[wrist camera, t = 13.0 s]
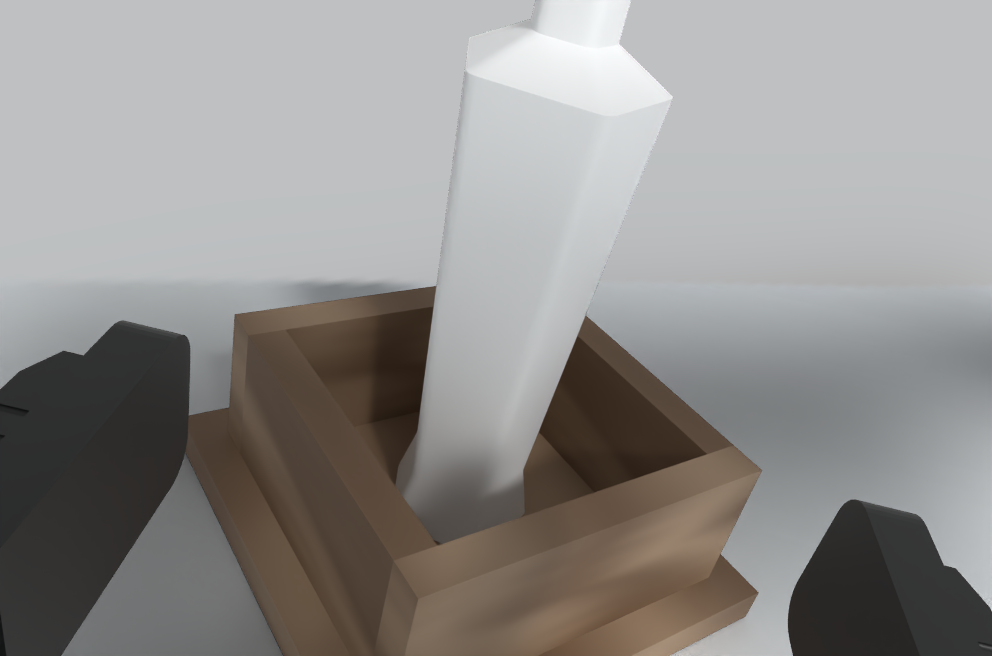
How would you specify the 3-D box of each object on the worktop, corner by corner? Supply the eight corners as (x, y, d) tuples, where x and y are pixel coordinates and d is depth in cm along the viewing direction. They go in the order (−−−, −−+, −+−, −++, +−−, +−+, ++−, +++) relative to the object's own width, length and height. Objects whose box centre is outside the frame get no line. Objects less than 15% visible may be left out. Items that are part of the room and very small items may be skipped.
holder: (511, 371, 32) (542, 254, 29) (745, 616, 24) (816, 486, 22) (181, 443, 25) (184, 299, 23) (359, 814, 17) (395, 660, 15)
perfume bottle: (340, 470, 24) (429, -112, 16) (467, 432, 27) (596, -86, 19) (425, 588, 21) (582, -49, 14) (558, 533, 24) (754, -29, 16)
